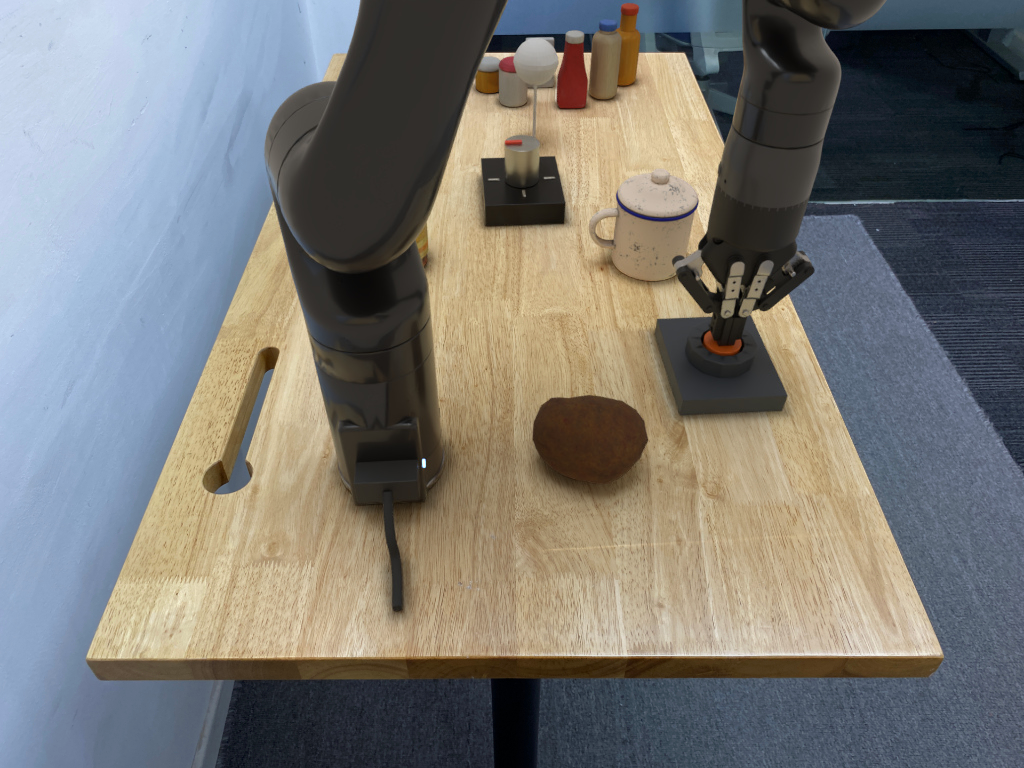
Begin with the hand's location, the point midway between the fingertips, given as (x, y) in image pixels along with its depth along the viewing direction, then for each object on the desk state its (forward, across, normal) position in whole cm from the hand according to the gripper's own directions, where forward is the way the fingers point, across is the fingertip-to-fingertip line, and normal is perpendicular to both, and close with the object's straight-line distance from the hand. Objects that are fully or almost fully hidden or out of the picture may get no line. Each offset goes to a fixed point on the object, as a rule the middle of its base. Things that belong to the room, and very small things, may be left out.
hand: (723, 340), depth 75 cm
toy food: (+4, -9, +67) cm, 68 cm away
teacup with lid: (+4, -5, +19) cm, 20 cm away
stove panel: (+4, -17, +34) cm, 38 cm away
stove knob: (+1, -17, +34) cm, 38 cm away
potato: (+4, -15, -12) cm, 19 cm away
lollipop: (+4, -14, +49) cm, 51 cm away
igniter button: (+2, 0, 0) cm, 2 cm away
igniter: (+4, 0, 0) cm, 4 cm away
